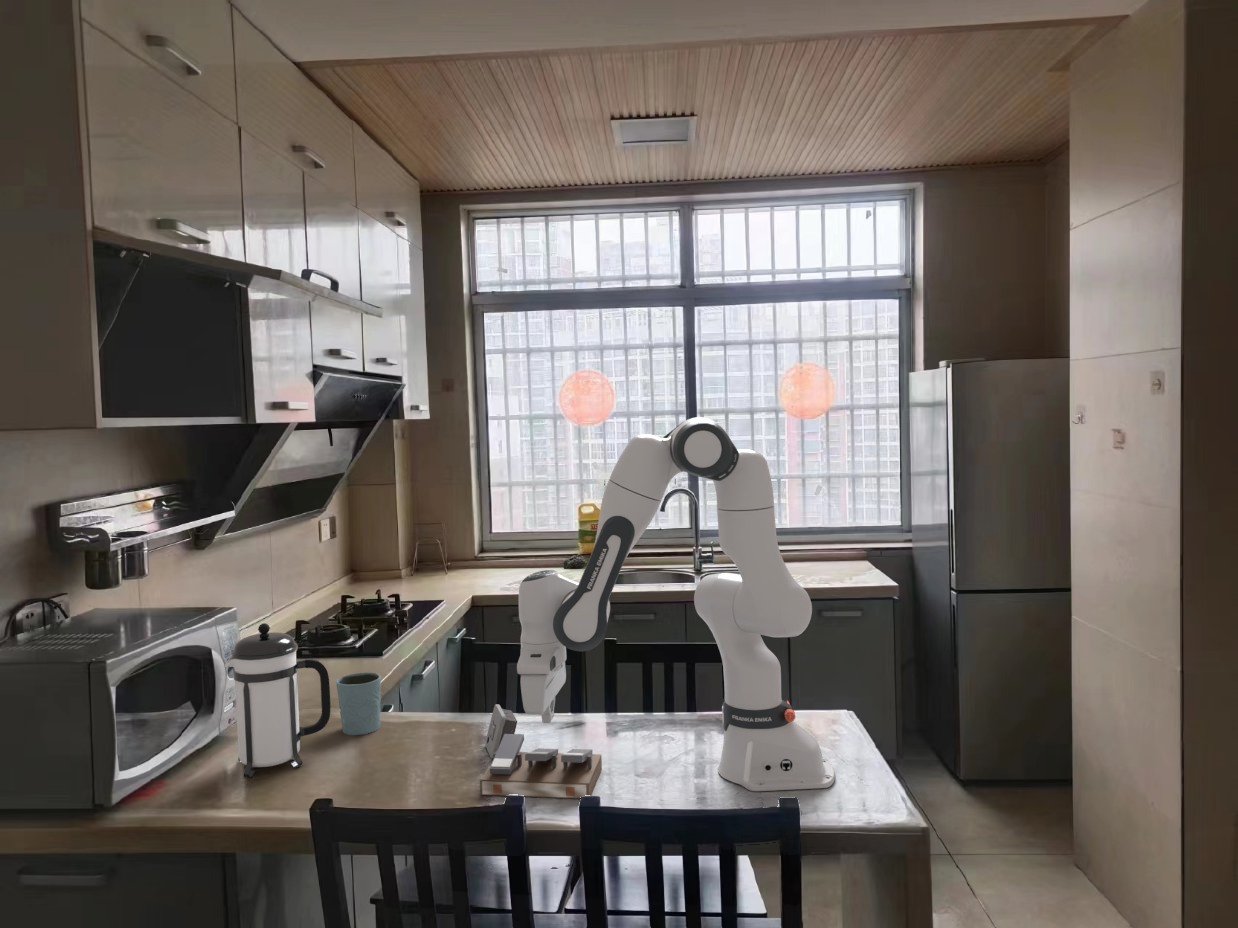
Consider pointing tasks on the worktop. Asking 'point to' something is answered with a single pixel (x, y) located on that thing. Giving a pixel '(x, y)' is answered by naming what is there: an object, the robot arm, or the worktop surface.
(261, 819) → the worktop surface
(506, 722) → the electrical switch
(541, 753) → the rocker middle
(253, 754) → the coffee press
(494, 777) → the switch unit
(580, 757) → the rocker
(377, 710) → the blue embossed cup
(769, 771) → the robot arm
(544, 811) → the worktop surface
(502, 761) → the rocker
